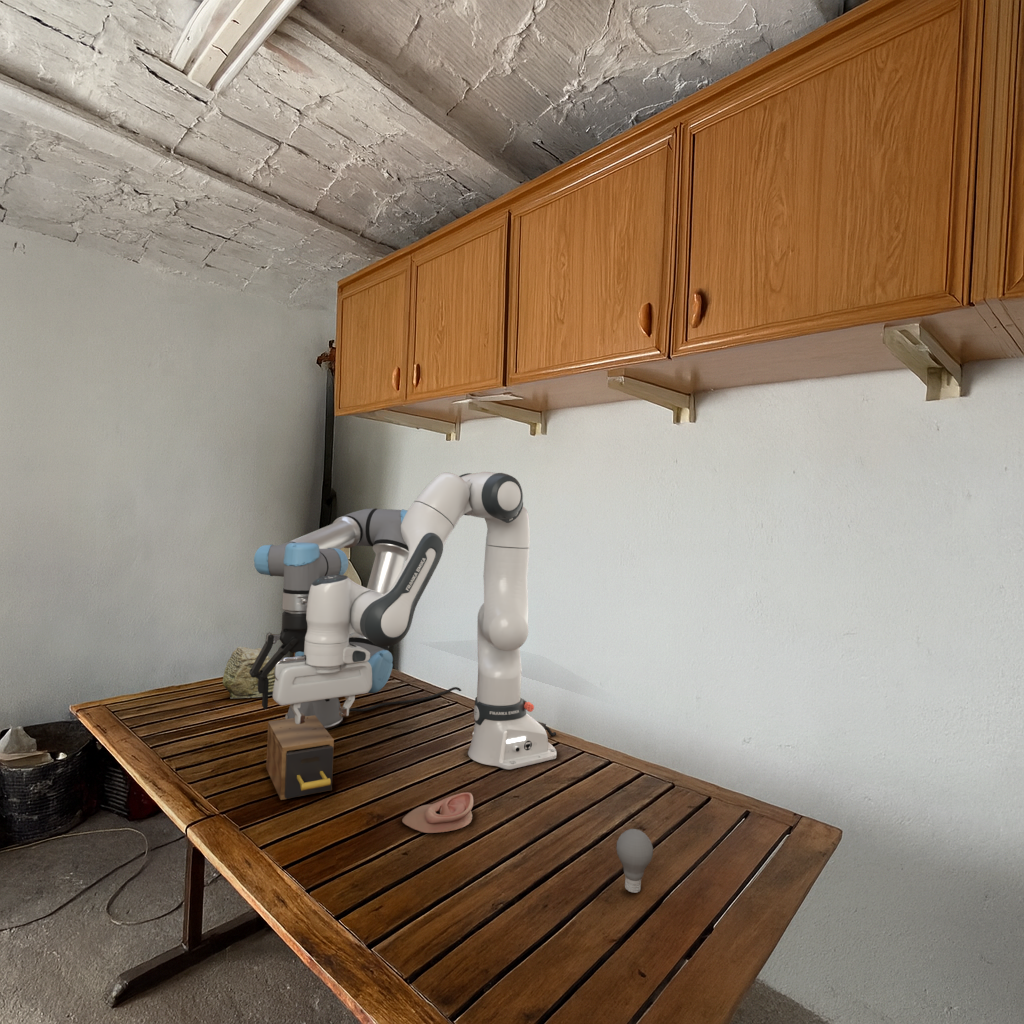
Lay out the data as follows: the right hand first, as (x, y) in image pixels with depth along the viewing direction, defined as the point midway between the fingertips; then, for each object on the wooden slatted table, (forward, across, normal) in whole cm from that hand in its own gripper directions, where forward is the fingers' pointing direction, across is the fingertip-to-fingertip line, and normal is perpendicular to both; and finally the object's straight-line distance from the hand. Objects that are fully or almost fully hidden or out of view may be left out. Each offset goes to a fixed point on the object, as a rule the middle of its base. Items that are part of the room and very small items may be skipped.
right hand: (322, 719), depth 132 cm
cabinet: (+17, 0, +12) cm, 21 cm away
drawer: (+16, -1, +7) cm, 18 cm away
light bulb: (+16, +32, -58) cm, 68 cm away
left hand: (+1, 0, +16) cm, 16 cm away
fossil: (+18, +9, +77) cm, 79 cm away
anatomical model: (+17, +17, -20) cm, 31 cm away
